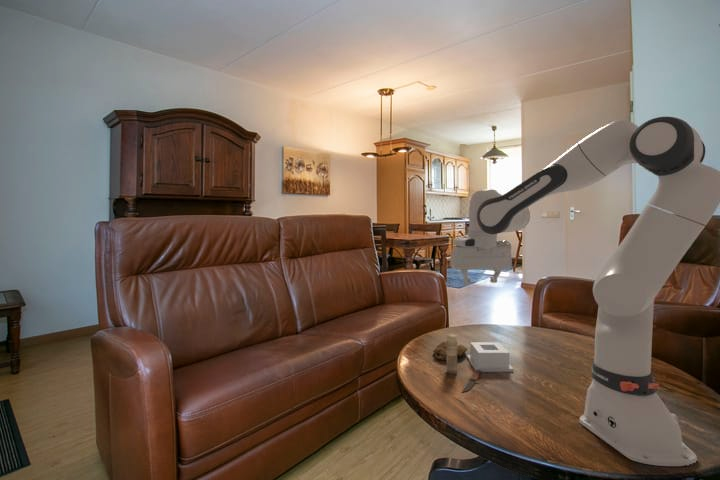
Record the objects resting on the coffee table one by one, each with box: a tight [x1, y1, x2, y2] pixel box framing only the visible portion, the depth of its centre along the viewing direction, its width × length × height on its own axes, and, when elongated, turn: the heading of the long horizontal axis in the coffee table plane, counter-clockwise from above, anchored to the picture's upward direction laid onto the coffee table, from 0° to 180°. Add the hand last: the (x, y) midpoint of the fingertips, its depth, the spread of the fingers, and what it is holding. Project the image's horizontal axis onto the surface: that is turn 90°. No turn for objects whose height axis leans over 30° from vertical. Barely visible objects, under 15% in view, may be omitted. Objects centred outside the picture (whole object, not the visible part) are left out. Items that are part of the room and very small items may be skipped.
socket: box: [466, 341, 514, 373], centre depth 125 cm, size 12×12×6 cm
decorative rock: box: [432, 341, 468, 361], centre depth 134 cm, size 11×4×15 cm
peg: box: [446, 333, 458, 375], centre depth 119 cm, size 3×3×12 cm
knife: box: [461, 370, 483, 393], centre depth 112 cm, size 17×1×3 cm
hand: (480, 282), depth 119 cm, fingers open, 8 cm apart
